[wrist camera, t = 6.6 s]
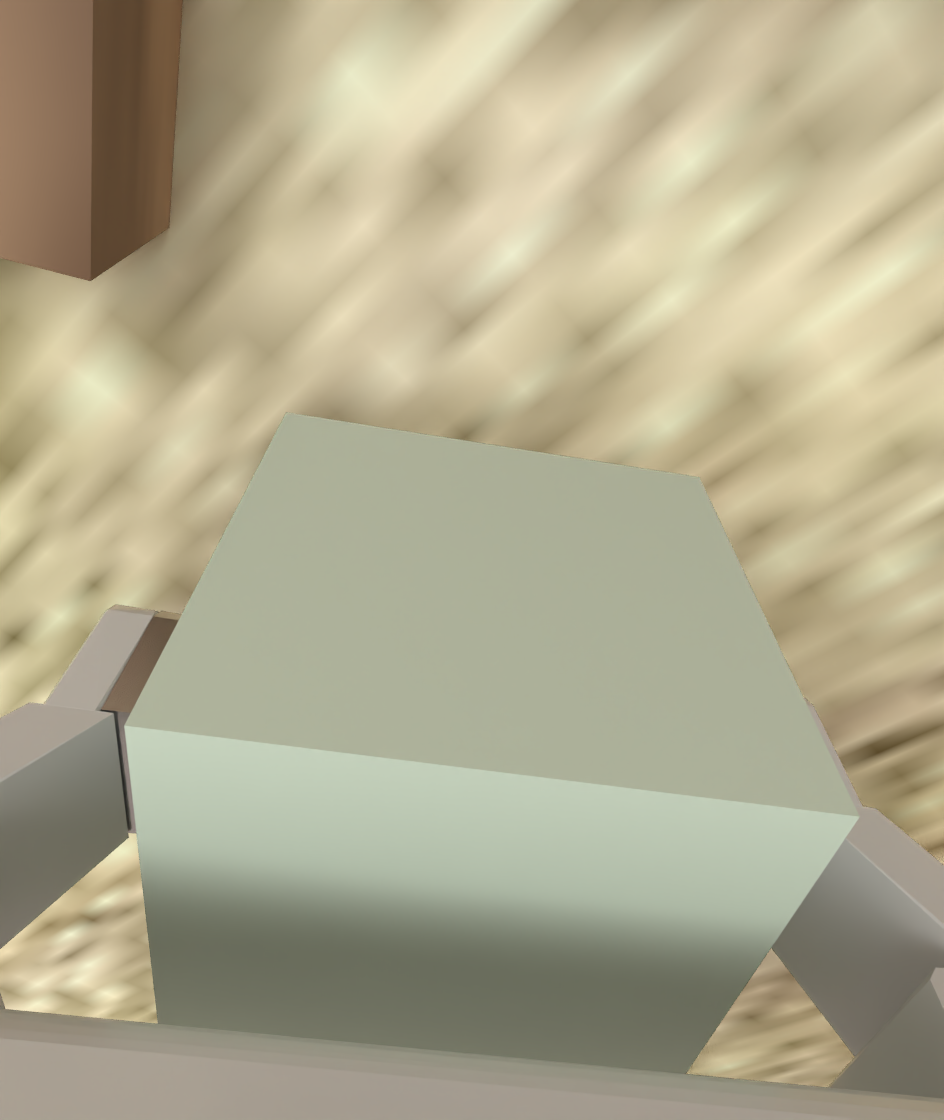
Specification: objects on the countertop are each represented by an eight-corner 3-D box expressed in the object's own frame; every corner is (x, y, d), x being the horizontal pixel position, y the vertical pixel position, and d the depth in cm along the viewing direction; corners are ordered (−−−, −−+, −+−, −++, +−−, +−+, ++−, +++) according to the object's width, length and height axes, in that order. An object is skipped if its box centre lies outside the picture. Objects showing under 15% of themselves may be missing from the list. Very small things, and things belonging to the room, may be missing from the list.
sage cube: (698, 476, 10) (859, 816, 6) (596, 756, 12) (652, 1123, 8) (286, 411, 9) (124, 725, 5) (275, 716, 12) (164, 1079, 8)
